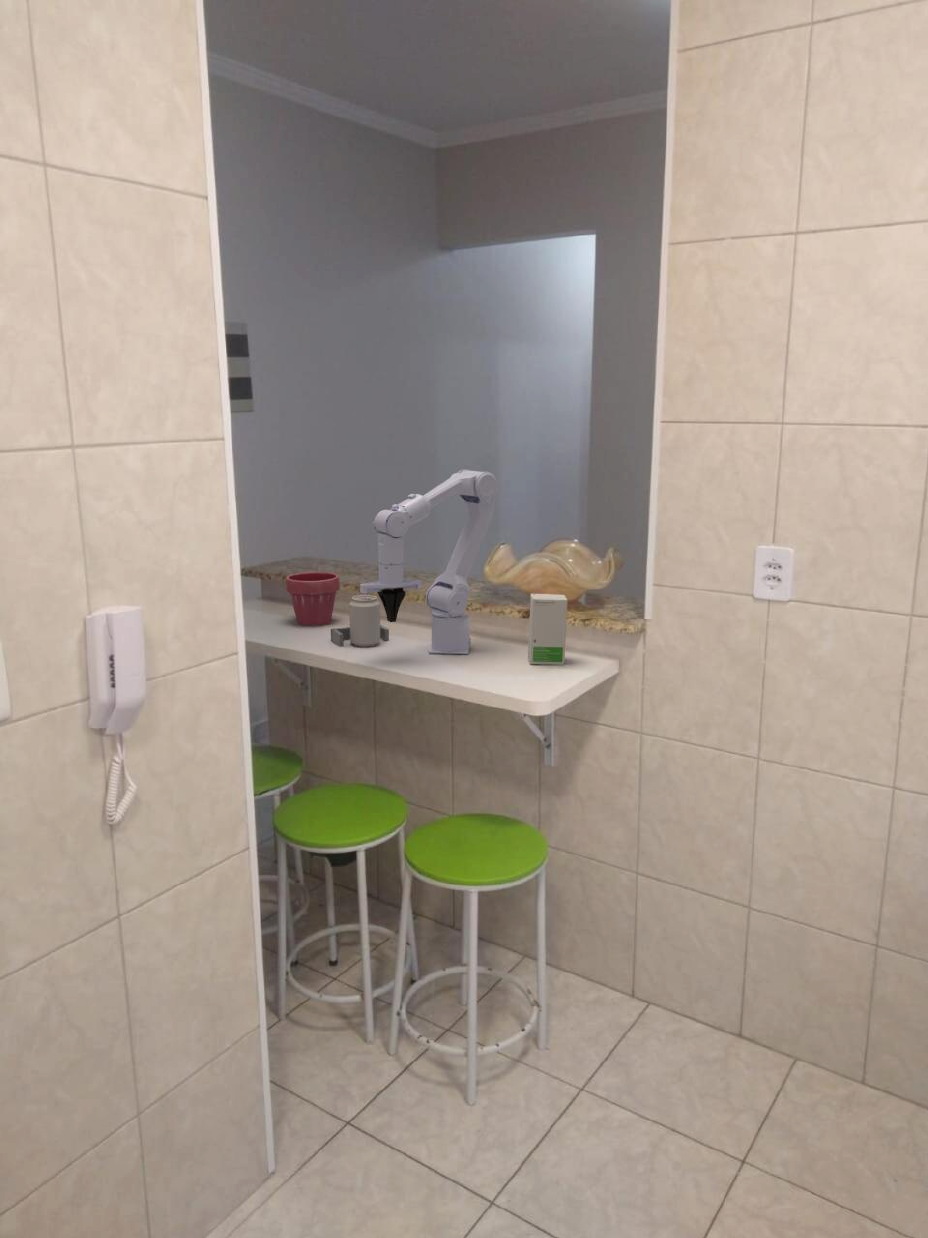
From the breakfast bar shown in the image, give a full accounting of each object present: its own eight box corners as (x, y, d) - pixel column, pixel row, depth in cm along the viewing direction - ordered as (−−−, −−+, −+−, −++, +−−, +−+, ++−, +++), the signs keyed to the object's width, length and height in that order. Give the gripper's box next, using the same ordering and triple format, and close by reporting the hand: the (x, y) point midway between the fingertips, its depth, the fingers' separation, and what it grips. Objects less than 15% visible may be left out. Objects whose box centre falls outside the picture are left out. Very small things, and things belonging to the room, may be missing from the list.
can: (375, 648, 232) (374, 600, 229) (346, 646, 233) (345, 599, 230) (383, 641, 239) (383, 594, 236) (355, 639, 240) (354, 593, 237)
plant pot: (284, 618, 262) (282, 572, 259) (335, 614, 266) (333, 570, 264) (291, 630, 249) (289, 582, 246) (344, 626, 253) (343, 579, 250)
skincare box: (529, 665, 218) (531, 599, 215) (527, 657, 225) (528, 593, 221) (566, 665, 218) (568, 599, 215) (562, 657, 225) (564, 593, 221)
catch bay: (388, 640, 239) (388, 629, 238) (339, 646, 233) (339, 634, 232) (379, 634, 244) (379, 623, 244) (331, 640, 239) (330, 628, 238)
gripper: (412, 558, 223) (413, 614, 226) (354, 562, 216) (356, 620, 220) (425, 562, 217) (425, 620, 220) (366, 567, 210) (367, 627, 213)
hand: (391, 621), depth 219 cm, fingers closed
